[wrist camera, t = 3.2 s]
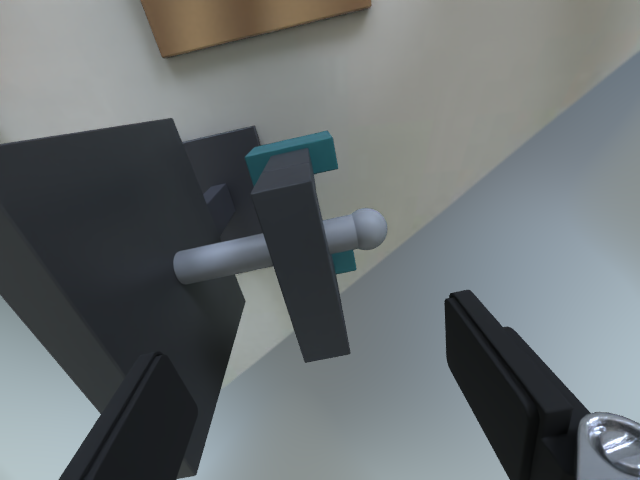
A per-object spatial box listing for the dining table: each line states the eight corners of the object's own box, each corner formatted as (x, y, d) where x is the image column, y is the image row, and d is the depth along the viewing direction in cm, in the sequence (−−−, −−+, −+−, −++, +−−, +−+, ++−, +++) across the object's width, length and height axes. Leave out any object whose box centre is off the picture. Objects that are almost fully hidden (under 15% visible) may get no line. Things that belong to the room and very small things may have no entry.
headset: (287, 259, 26) (276, 373, 15) (253, 147, 22) (205, 195, 11) (349, 246, 26) (382, 352, 15) (327, 130, 22) (352, 162, 11)
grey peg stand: (208, 269, 35) (82, 496, 15) (145, 127, 28) (-246, 199, 8) (360, 237, 34) (441, 432, 14) (335, 82, 27) (424, 39, 7)
